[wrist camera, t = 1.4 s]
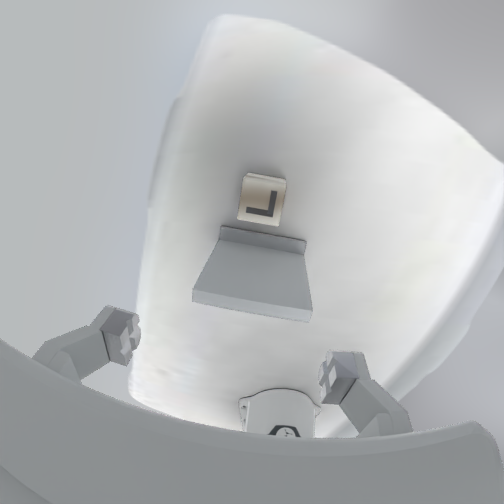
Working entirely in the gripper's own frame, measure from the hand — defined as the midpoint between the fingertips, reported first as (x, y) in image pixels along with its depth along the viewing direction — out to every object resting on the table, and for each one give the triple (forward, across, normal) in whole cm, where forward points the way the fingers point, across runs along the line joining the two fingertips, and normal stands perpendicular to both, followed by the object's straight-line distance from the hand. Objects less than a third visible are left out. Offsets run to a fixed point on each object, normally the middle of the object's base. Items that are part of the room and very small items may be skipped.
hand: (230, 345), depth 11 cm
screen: (+28, -1, +8) cm, 29 cm away
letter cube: (+28, 0, 0) cm, 28 cm away
